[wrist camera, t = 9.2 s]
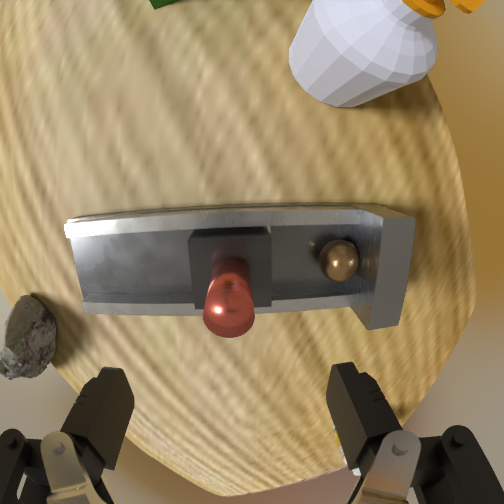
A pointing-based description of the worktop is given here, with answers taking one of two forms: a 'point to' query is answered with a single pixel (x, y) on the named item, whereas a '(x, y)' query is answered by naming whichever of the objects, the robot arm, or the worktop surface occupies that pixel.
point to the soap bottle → (366, 47)
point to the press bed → (283, 258)
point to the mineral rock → (27, 340)
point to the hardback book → (160, 3)
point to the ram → (230, 276)
